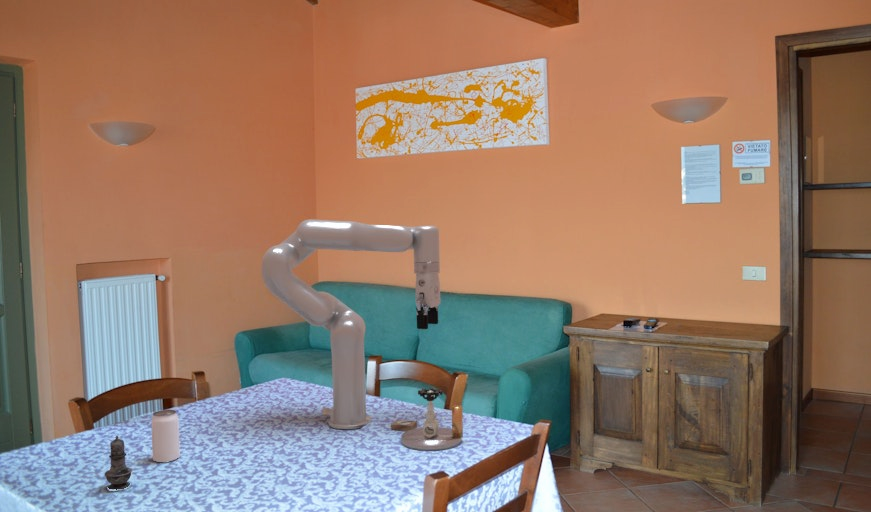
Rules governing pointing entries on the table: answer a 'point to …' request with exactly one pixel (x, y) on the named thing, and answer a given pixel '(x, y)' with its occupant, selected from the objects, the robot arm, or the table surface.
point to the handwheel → (442, 438)
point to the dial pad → (403, 425)
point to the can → (165, 436)
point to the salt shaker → (118, 466)
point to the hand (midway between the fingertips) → (427, 326)
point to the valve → (430, 411)
